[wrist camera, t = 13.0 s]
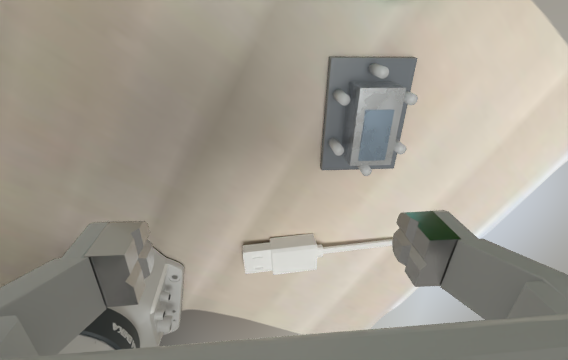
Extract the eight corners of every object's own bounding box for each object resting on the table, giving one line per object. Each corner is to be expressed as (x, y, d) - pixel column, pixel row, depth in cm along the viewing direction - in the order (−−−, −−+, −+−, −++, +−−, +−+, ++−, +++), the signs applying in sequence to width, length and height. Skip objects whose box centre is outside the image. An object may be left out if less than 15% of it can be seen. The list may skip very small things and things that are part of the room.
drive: (378, 151, 39) (391, 165, 35) (341, 152, 38) (350, 166, 35) (390, 81, 35) (407, 88, 31) (349, 81, 34) (360, 88, 30)
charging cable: (434, 241, 50) (446, 255, 48) (245, 264, 47) (245, 280, 44) (441, 217, 48) (454, 230, 45) (242, 239, 45) (242, 254, 42)
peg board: (390, 165, 41) (403, 178, 38) (320, 167, 40) (326, 180, 37) (413, 57, 34) (431, 61, 31) (329, 56, 34) (338, 60, 30)
